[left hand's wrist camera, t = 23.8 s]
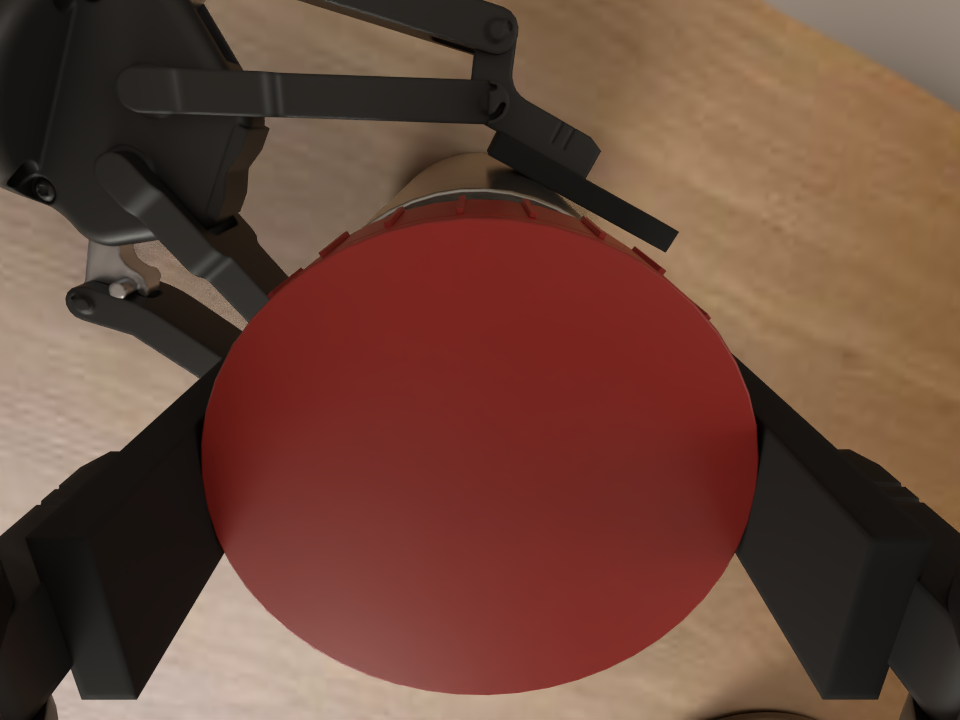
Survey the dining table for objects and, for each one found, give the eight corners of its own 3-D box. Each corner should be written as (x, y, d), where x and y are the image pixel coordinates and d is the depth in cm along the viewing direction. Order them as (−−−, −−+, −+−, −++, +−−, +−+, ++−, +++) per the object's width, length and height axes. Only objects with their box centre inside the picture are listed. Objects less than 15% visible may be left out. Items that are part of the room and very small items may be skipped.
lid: (489, 670, 15) (490, 765, 13) (155, 442, 12) (86, 510, 10) (806, 423, 12) (877, 487, 10) (464, 71, 10) (460, 55, 8)
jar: (396, 135, 25) (288, 162, 11) (591, 172, 26) (732, 243, 11) (375, 322, 28) (269, 533, 14) (548, 351, 29) (616, 582, 15)
